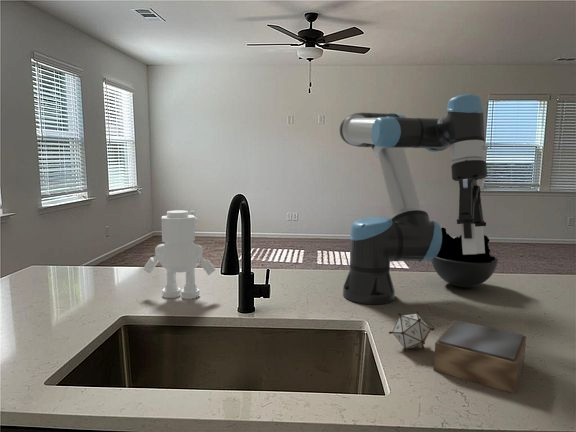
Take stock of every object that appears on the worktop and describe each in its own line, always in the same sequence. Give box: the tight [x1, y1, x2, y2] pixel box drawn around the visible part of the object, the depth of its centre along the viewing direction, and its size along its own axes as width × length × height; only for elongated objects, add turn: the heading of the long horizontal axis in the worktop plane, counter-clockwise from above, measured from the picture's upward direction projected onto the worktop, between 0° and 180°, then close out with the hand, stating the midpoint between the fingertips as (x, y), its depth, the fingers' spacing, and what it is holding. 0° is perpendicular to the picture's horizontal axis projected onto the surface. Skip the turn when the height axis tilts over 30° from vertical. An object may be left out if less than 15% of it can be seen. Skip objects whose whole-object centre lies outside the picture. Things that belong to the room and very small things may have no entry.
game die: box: [388, 309, 435, 353], centre depth 92 cm, size 9×8×10 cm
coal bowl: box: [430, 227, 499, 288], centre depth 137 cm, size 20×20×19 cm
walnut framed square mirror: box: [433, 319, 527, 394], centre depth 84 cm, size 14×14×6 cm
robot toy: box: [143, 209, 216, 300], centre depth 124 cm, size 22×12×25 cm, turn 84°
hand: (474, 254), depth 97 cm, fingers open, 13 cm apart
